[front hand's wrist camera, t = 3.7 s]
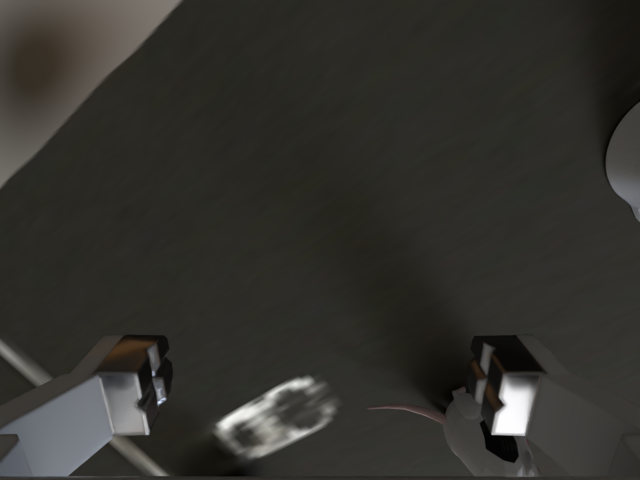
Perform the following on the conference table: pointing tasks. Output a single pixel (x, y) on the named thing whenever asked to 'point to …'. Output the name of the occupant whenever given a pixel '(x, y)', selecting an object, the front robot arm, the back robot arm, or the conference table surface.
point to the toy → (478, 439)
